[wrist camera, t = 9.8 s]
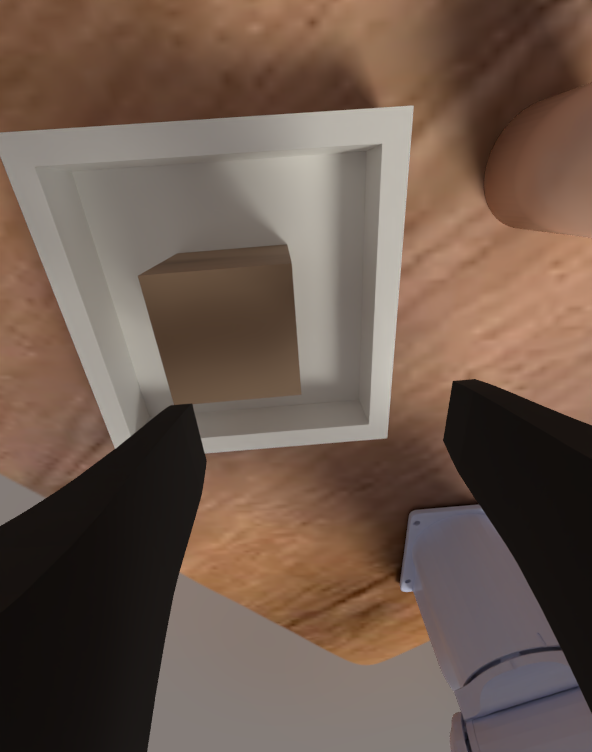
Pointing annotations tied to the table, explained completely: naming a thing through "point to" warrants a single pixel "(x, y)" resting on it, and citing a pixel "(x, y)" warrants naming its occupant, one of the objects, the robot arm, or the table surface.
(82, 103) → the table surface
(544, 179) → the beige rounded cylinder
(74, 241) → the off-white tray
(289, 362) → the walnut cube
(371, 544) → the table surface
